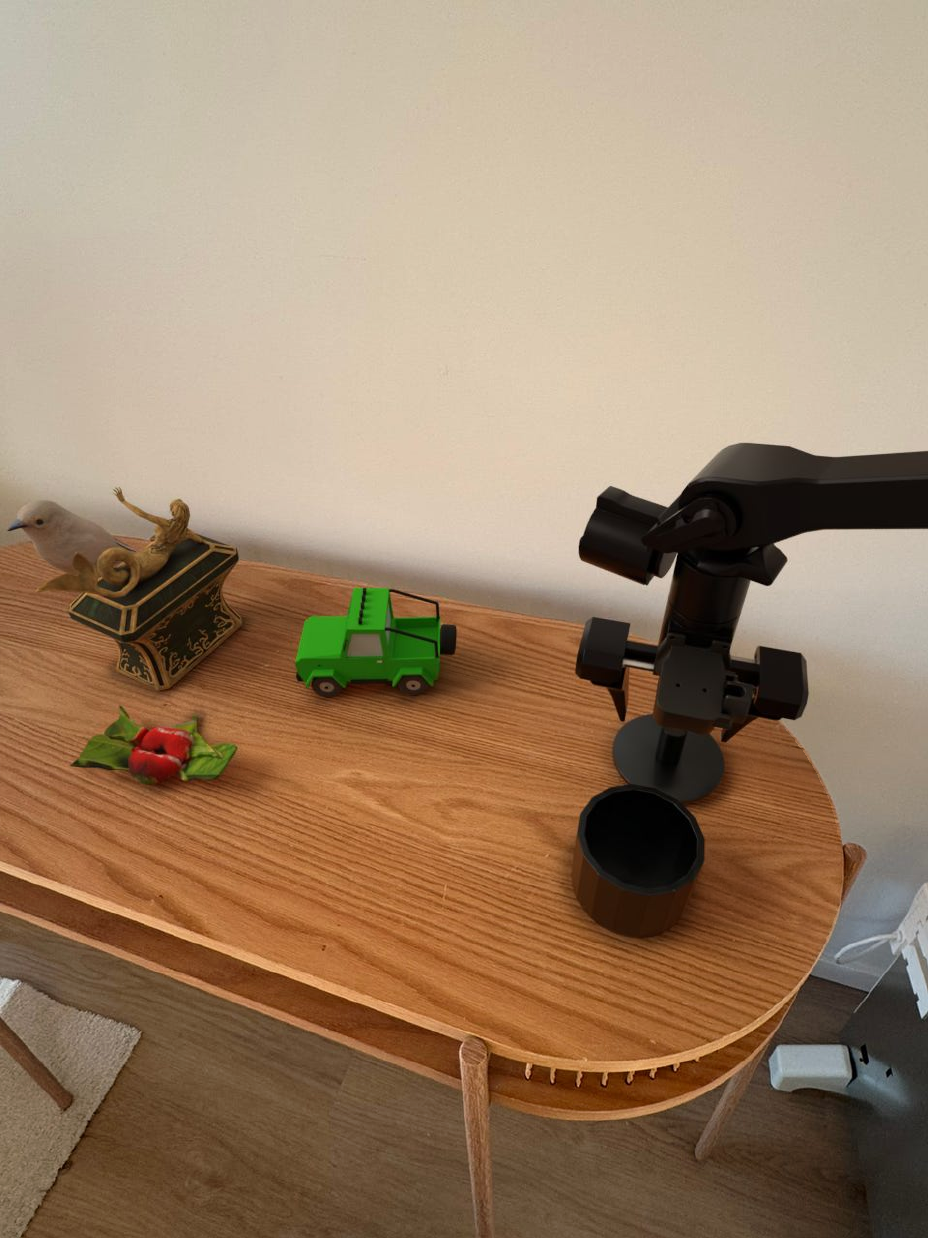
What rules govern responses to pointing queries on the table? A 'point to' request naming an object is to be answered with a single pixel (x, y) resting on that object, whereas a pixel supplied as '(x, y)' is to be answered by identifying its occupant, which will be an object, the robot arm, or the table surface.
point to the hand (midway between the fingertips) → (672, 728)
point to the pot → (636, 860)
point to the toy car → (373, 646)
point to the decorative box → (156, 598)
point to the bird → (64, 535)
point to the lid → (668, 759)
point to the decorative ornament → (155, 751)
